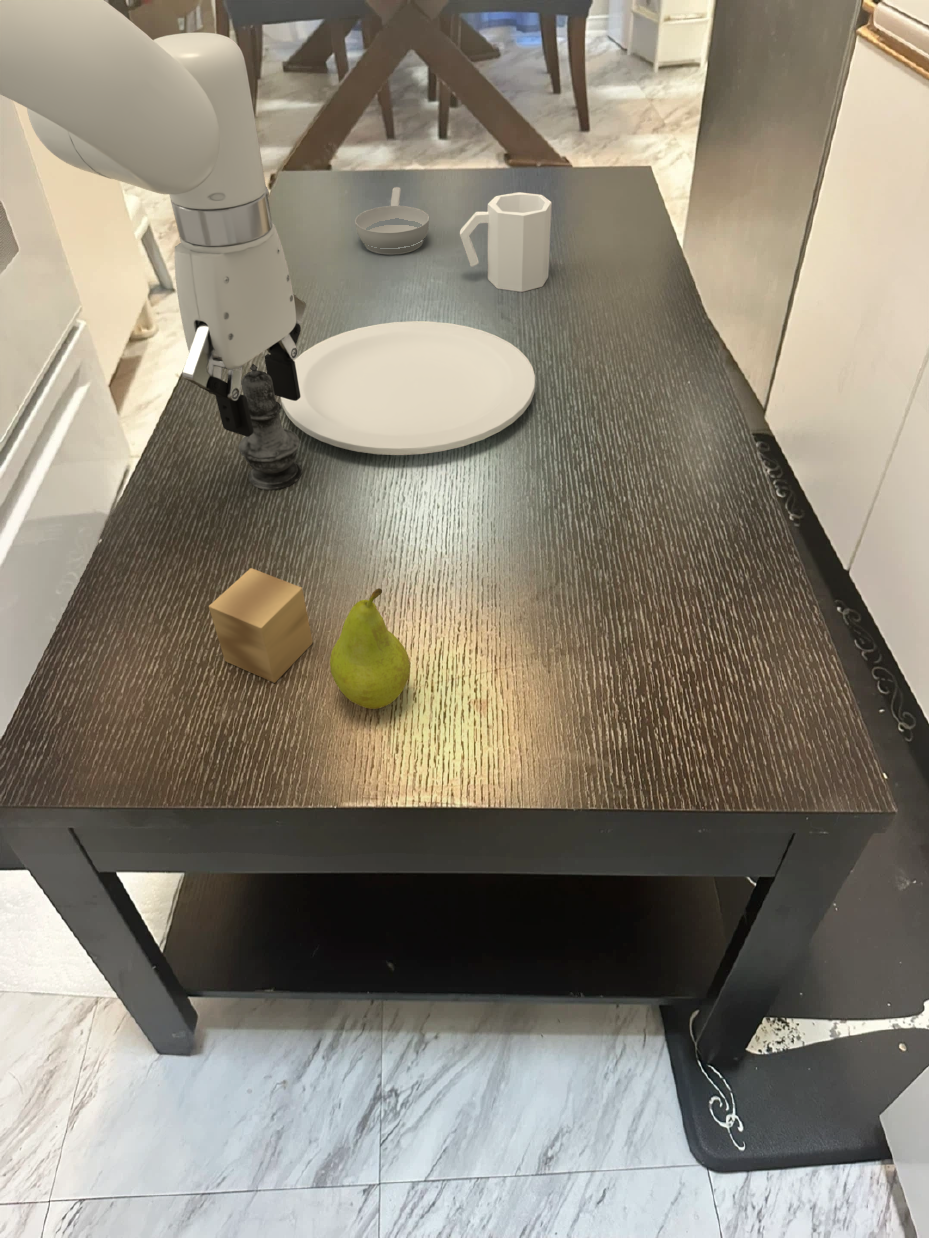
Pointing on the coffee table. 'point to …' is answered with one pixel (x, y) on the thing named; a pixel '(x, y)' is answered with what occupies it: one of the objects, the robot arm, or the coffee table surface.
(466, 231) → the mug
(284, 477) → the grey chess bishop
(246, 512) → the coffee table surface
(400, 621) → the coffee table surface
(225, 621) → the maple block
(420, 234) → the small pan
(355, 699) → the fruit
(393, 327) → the plate
